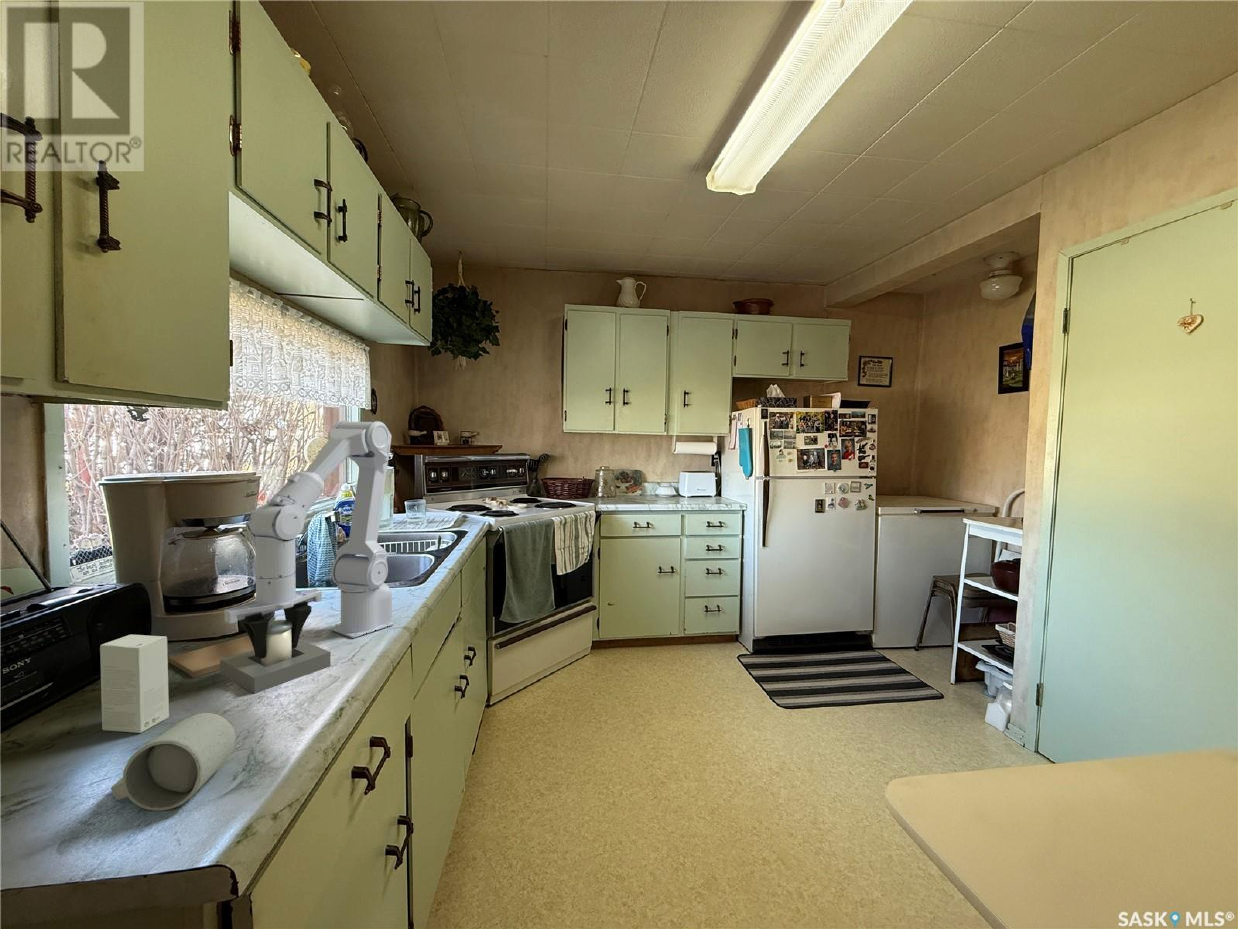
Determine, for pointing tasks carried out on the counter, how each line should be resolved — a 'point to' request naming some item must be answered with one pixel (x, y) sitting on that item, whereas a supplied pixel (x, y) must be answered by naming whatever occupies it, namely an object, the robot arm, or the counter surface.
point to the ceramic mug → (177, 762)
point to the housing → (273, 667)
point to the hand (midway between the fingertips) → (276, 651)
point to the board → (210, 656)
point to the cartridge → (278, 642)
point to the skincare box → (134, 683)
